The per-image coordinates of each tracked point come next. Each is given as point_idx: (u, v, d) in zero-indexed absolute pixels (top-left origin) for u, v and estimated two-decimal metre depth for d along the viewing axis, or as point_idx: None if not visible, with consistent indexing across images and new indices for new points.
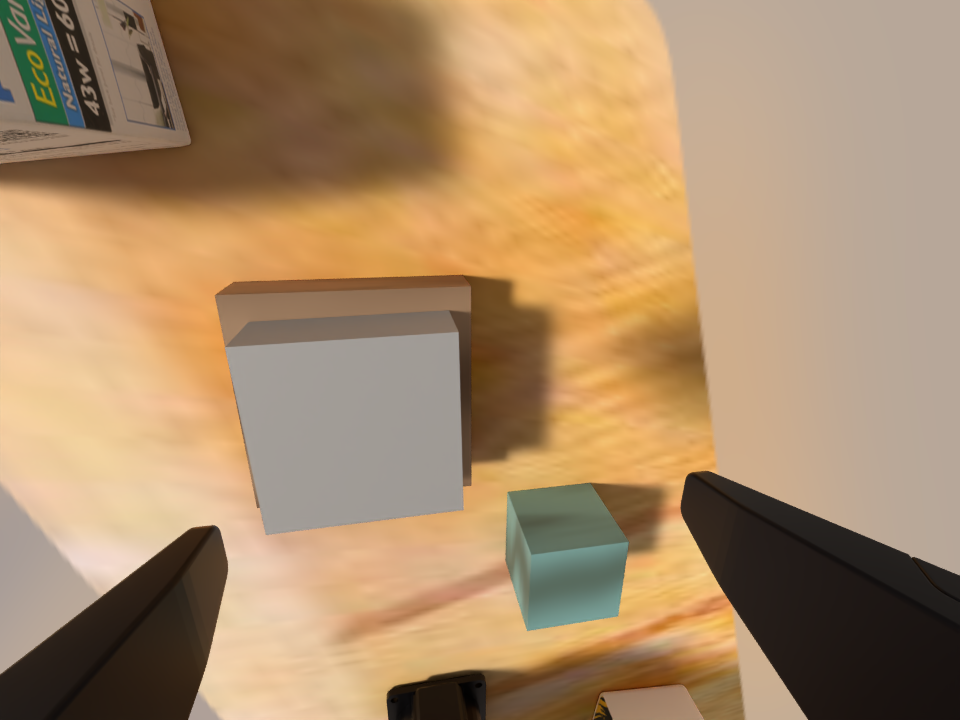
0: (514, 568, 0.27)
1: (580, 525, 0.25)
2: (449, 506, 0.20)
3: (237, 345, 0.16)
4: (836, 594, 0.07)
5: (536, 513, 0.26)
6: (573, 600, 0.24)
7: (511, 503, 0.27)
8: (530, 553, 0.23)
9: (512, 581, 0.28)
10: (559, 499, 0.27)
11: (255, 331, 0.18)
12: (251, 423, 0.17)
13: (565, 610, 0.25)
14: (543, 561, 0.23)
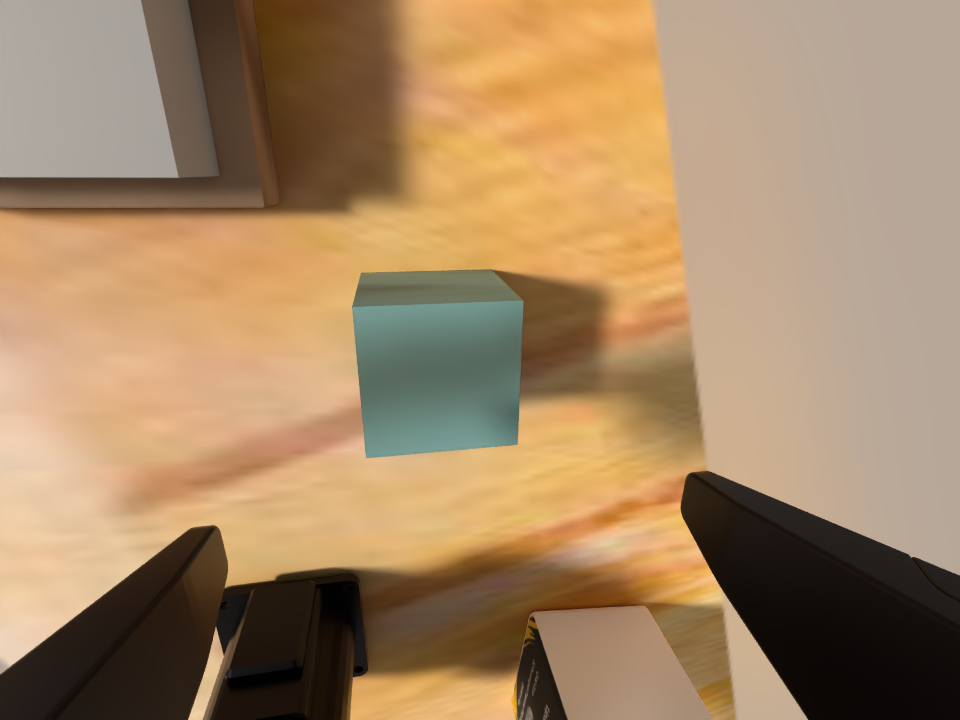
0: None
1: (453, 290, 0.15)
2: (147, 164, 0.11)
3: None
4: (836, 594, 0.07)
5: (390, 284, 0.16)
6: (439, 407, 0.15)
7: None
8: None
9: None
10: (435, 277, 0.17)
11: None
12: None
13: (427, 426, 0.15)
14: (375, 322, 0.14)
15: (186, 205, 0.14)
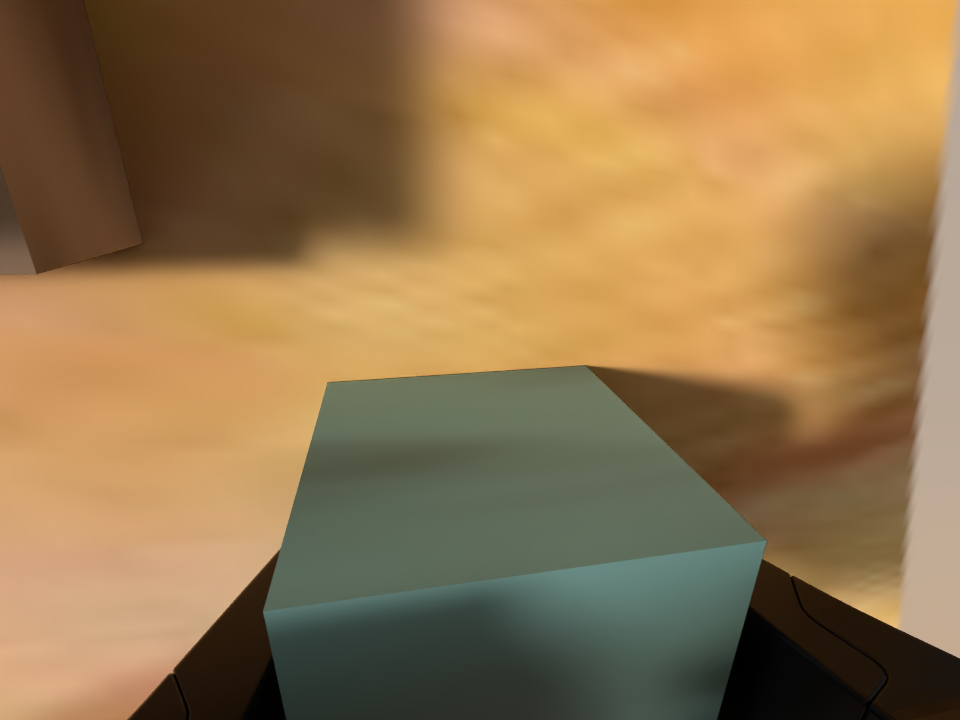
0: None
1: (545, 475, 0.06)
2: None
3: None
4: None
5: (388, 438, 0.07)
6: None
7: None
8: (271, 601, 0.04)
9: None
10: (485, 400, 0.08)
11: None
12: None
13: None
14: (342, 641, 0.04)
15: None
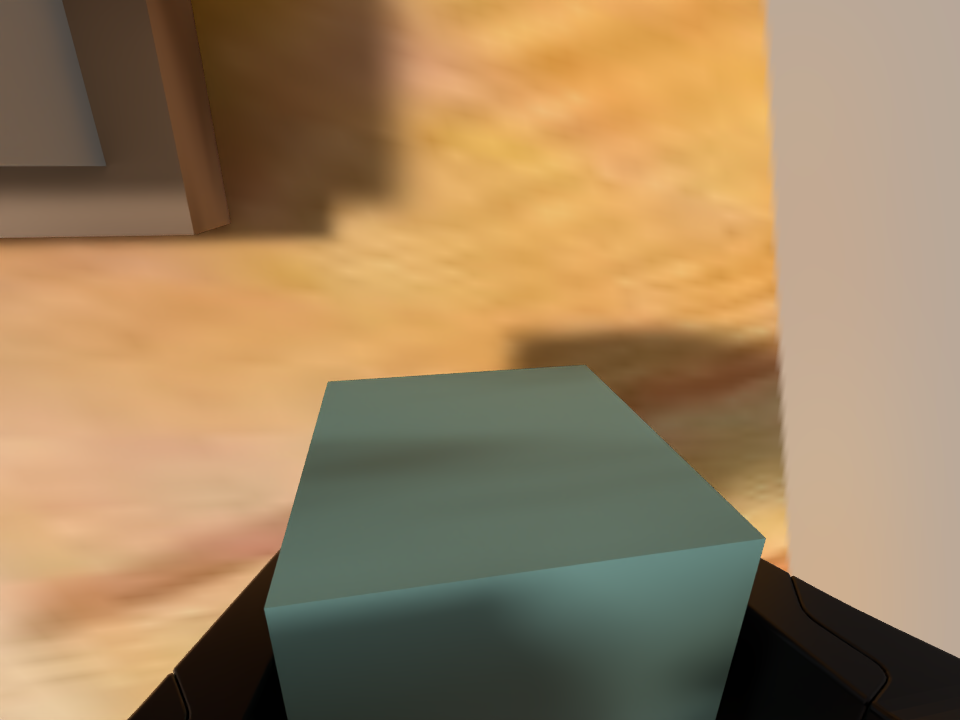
0: None
1: (545, 473, 0.06)
2: None
3: None
4: None
5: (388, 436, 0.07)
6: None
7: None
8: (272, 599, 0.04)
9: None
10: (484, 399, 0.08)
11: None
12: None
13: None
14: (342, 637, 0.04)
15: (70, 233, 0.09)
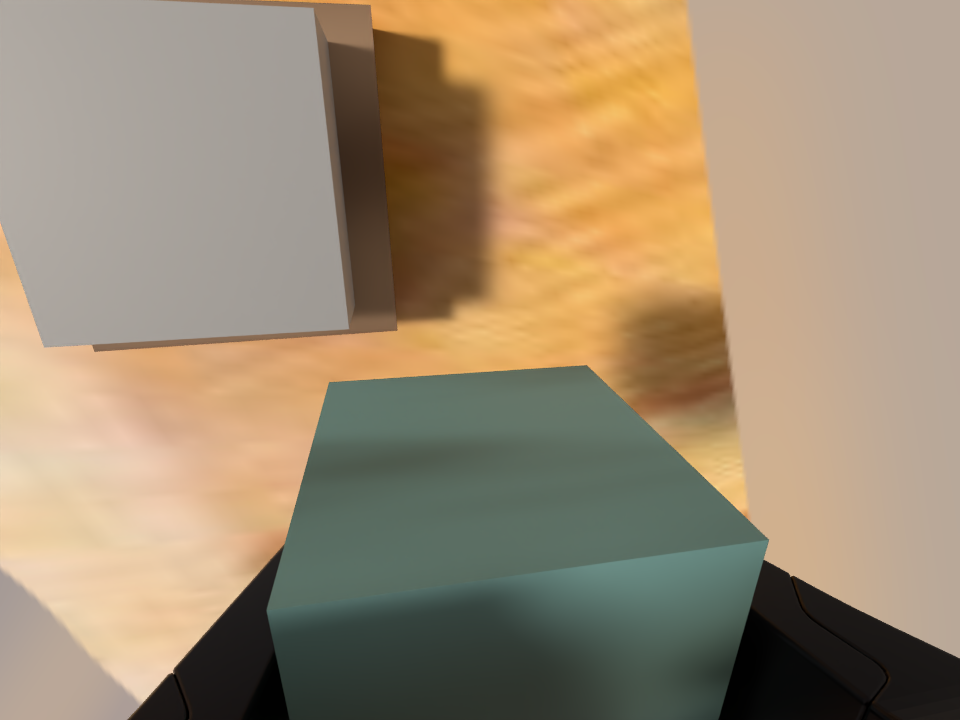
0: None
1: (547, 474, 0.06)
2: (327, 321, 0.14)
3: None
4: None
5: (390, 436, 0.07)
6: None
7: None
8: (274, 600, 0.04)
9: None
10: (486, 400, 0.08)
11: None
12: None
13: None
14: (345, 639, 0.04)
15: (336, 333, 0.17)
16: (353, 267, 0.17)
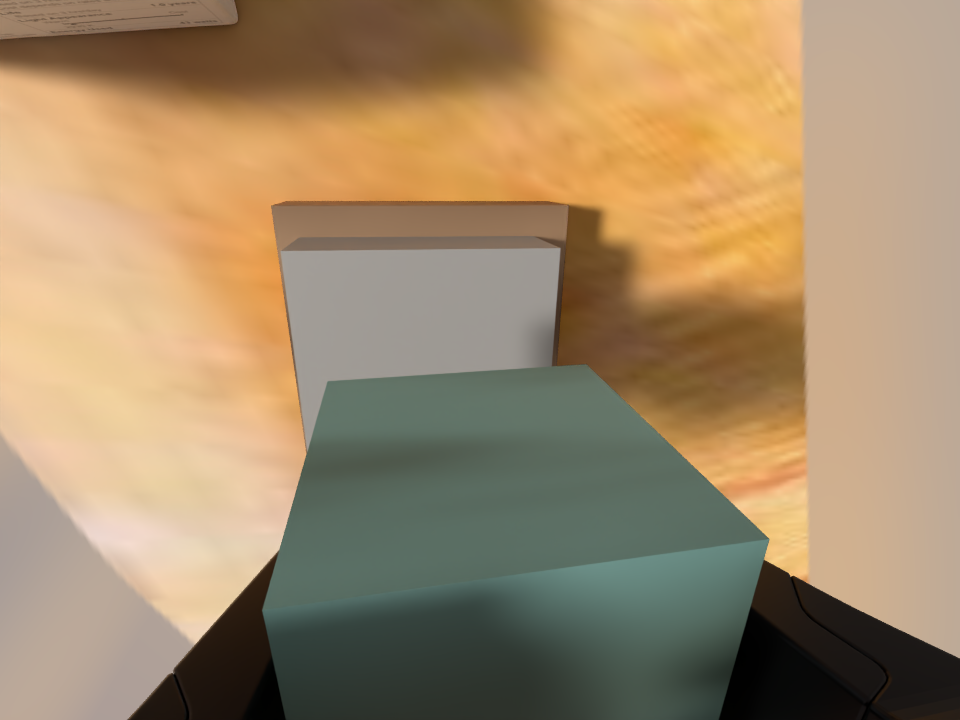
0: None
1: (546, 473, 0.06)
2: None
3: (295, 250, 0.13)
4: None
5: (387, 436, 0.07)
6: None
7: None
8: None
9: None
10: (485, 399, 0.08)
11: (311, 242, 0.15)
12: (305, 351, 0.14)
13: None
14: (342, 639, 0.04)
15: None
16: None
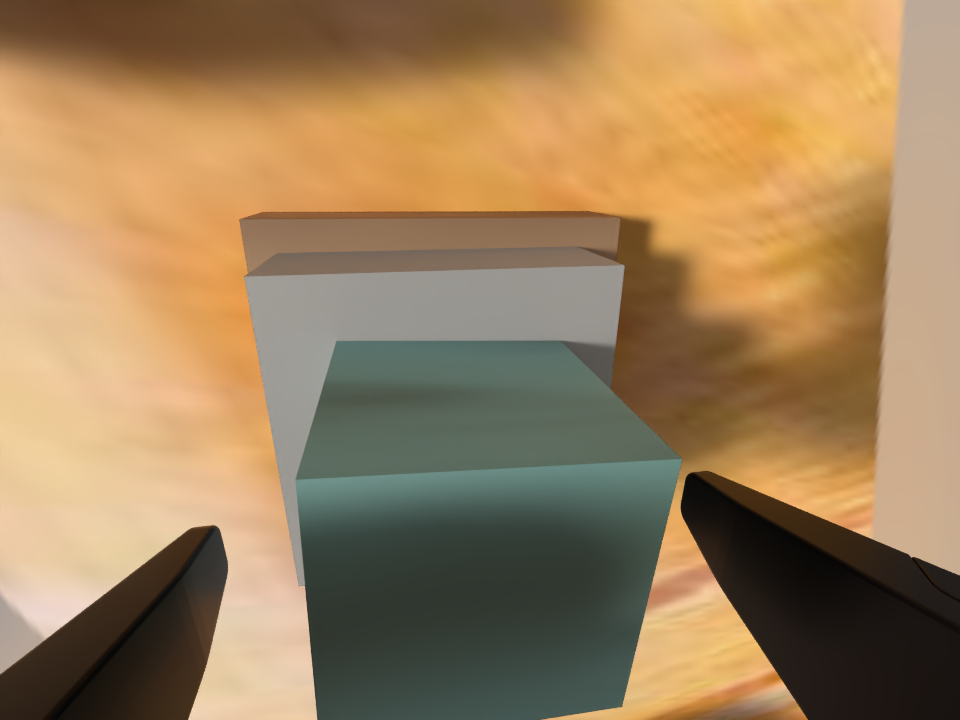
0: None
1: (517, 411, 0.08)
2: None
3: (265, 274, 0.10)
4: (836, 594, 0.07)
5: (389, 381, 0.08)
6: (479, 659, 0.07)
7: None
8: None
9: None
10: (471, 360, 0.10)
11: (291, 261, 0.11)
12: (283, 410, 0.11)
13: (452, 691, 0.07)
14: (351, 510, 0.06)
15: None
16: None
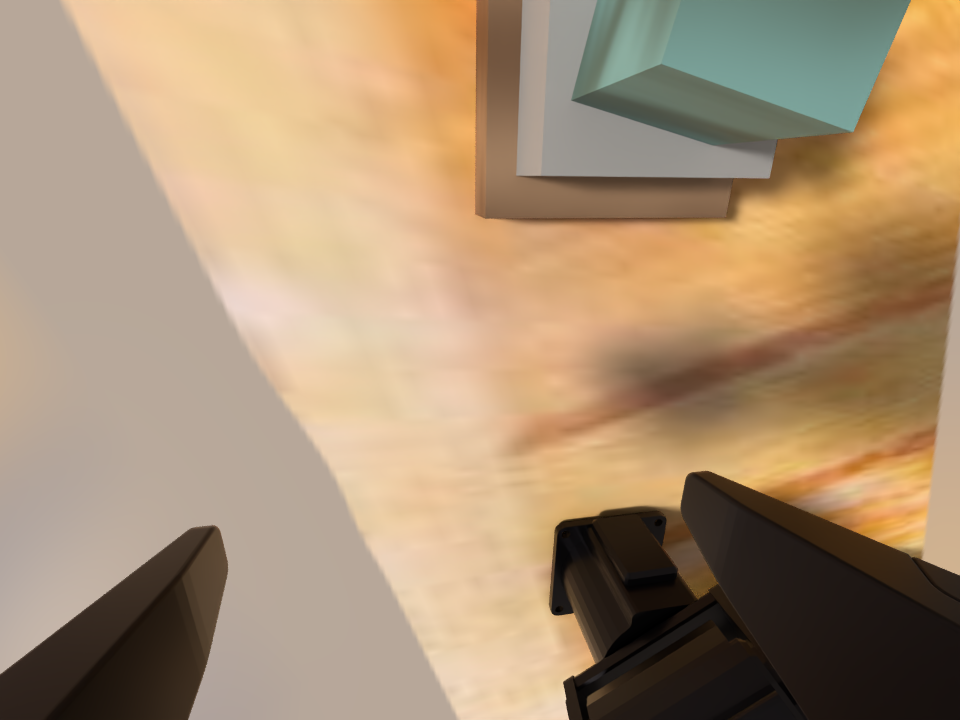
0: (619, 24, 0.12)
1: None
2: (755, 169, 0.16)
3: None
4: (836, 594, 0.07)
5: None
6: (791, 10, 0.10)
7: None
8: None
9: (597, 86, 0.12)
10: None
11: None
12: None
13: (762, 39, 0.10)
14: None
15: (677, 216, 0.19)
16: None
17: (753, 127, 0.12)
